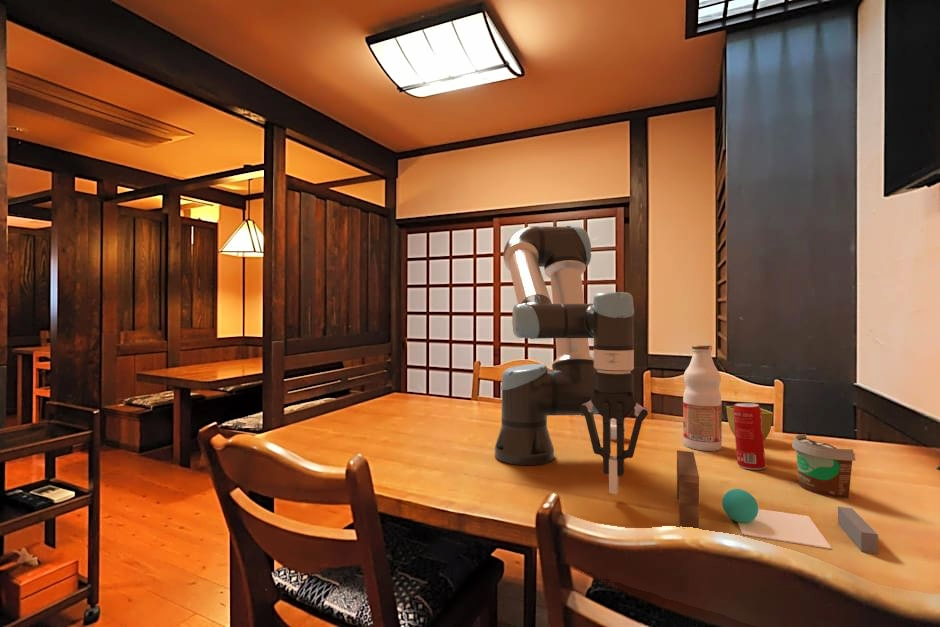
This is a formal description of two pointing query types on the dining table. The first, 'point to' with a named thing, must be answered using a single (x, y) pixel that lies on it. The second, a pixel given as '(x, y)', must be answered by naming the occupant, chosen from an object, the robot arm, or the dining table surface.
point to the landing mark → (784, 528)
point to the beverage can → (749, 436)
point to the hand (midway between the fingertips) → (613, 491)
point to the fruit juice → (702, 402)
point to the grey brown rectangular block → (687, 489)
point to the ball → (740, 505)
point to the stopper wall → (858, 530)
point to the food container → (823, 467)
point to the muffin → (614, 429)
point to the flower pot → (766, 420)
